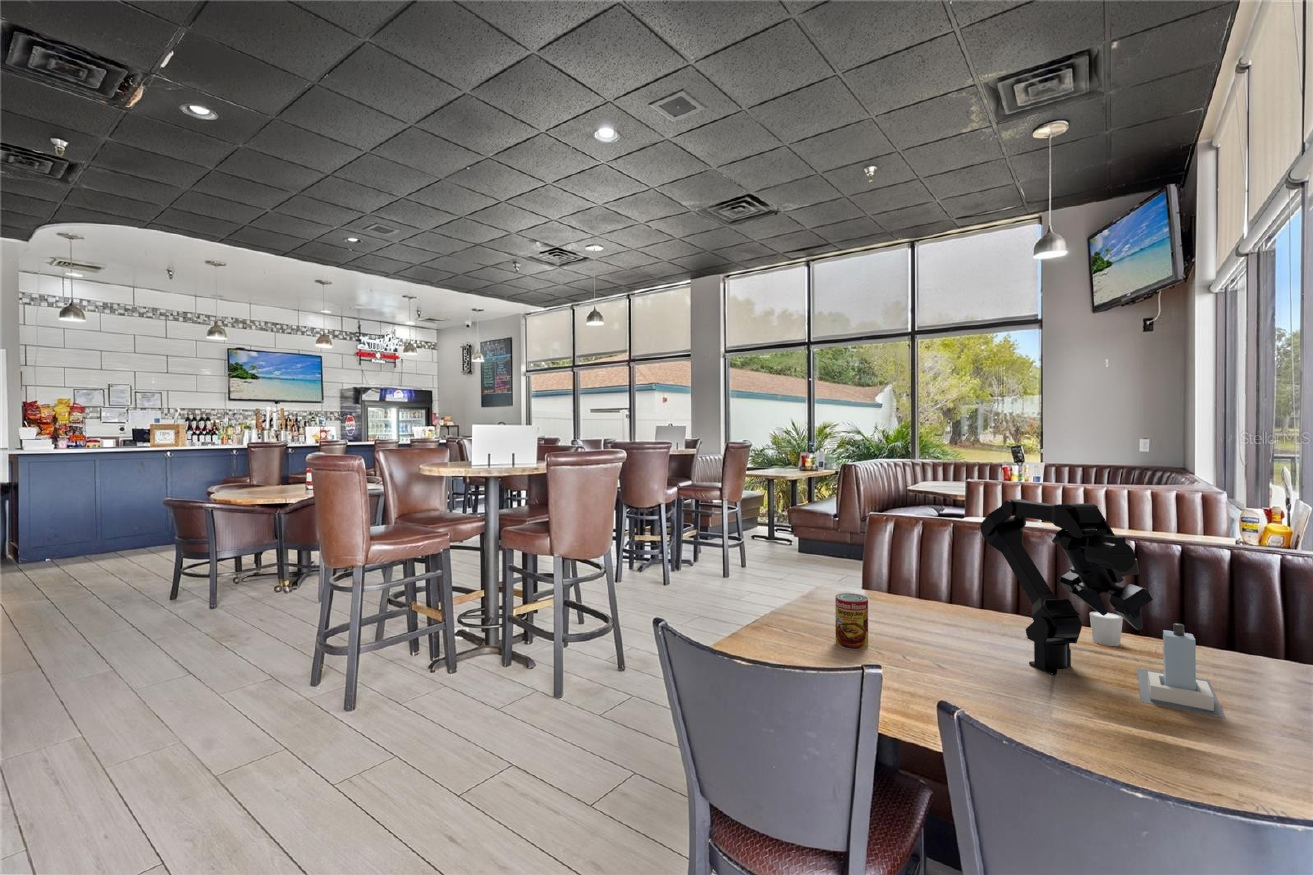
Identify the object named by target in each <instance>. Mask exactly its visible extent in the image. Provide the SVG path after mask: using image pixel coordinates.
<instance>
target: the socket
mask: <svg viewBox="0 0 1313 875" xmlns="http://www.w3.org/2000/svg"><path fill="white" fill-rule="evenodd" d="M1148 688H1149V694H1150V699H1151V701H1153V702H1158V703H1163V704H1168V705H1173V706H1178V707H1183V708H1188V709H1193V710H1198V711H1203V712H1208V713H1213V714H1214V697H1213V694H1212V692H1211V690H1210V688H1209V685H1208V683H1207V682H1206V681H1200V680H1196V691H1191V690H1186V689H1181V688H1175V687H1170V686H1164V685H1163V674H1160V673H1155V672H1149V671H1148Z"/></svg>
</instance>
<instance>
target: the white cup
mask: <svg viewBox="0 0 1313 875" xmlns="http://www.w3.org/2000/svg"><path fill="white" fill-rule="evenodd" d="M1089 618H1090V619H1089V622H1090V629H1091V636H1092V637H1091V638H1092V641H1093V643H1096V644H1098V643H1099V645H1103V646H1108V647H1109V646H1110V647H1118V646H1119V647H1120V645H1121V640H1122V639H1121V638H1122V631H1123V630H1122V629H1123V622H1124V621H1123V620H1124V618H1123V617H1122V616H1120V615H1119V614H1118V613H1113V612H1112V613H1111V612H1107V614H1106V615H1104V616H1103V615H1101V614H1100V613H1098V612H1097V611H1090V612H1089Z"/></svg>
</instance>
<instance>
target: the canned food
mask: <svg viewBox="0 0 1313 875" xmlns="http://www.w3.org/2000/svg"><path fill="white" fill-rule="evenodd" d="M834 605H835V645H836V646H837V647H840V648H842V649H846V650H851V651H861V650H862V651H863V650H866V649H868V647H869V598H868V596H866V595H863V594H859V593H851V592H848V593H847V592H846V593H845V592H843V593H837V594H836V595H835V604H834Z"/></svg>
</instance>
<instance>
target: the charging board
mask: <svg viewBox="0 0 1313 875" xmlns="http://www.w3.org/2000/svg"><path fill="white" fill-rule="evenodd" d="M1135 669H1136V675H1137V681H1138V682H1137V683H1138V689H1139V696H1140V702H1141V703H1143V704H1148V705H1155V706H1159V707H1164V708H1169V709H1174V710H1178V711H1182V712H1183V711H1184V712H1188V713H1194V714H1199V715H1204V716H1208V717H1214V718H1219V719H1224V720H1227V717H1226V715H1225V713H1224V711H1223V708H1222V707H1221V704H1220V701H1219V699H1218V697H1217V694H1216V693H1215V690H1214V688H1213V685H1212V683H1211V682H1210V679H1205V678H1200V677H1196V680H1200V681H1206V682H1207V683H1208V685H1209V688H1210V690H1211V692H1212V694H1213V697H1214V714H1213V713H1208V712H1203V711H1198V710H1193V709H1188V708H1183V707H1178V706H1173V705H1168V704H1163V703H1158V702H1153V701H1151V699H1150V694H1149V688H1148V671H1149V672H1155V673H1160V674H1163V671H1158V670H1153V669H1146V668H1142V667H1136V668H1135Z"/></svg>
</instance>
